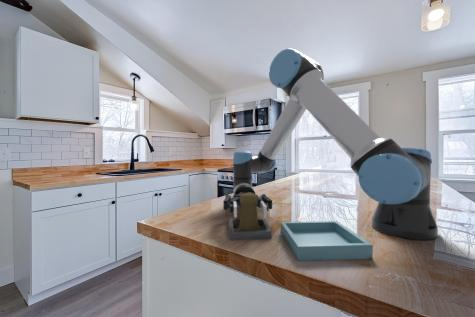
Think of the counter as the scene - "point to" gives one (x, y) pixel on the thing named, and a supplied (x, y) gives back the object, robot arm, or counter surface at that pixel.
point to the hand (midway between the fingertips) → (250, 212)
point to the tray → (324, 241)
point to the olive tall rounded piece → (248, 212)
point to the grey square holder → (250, 231)
